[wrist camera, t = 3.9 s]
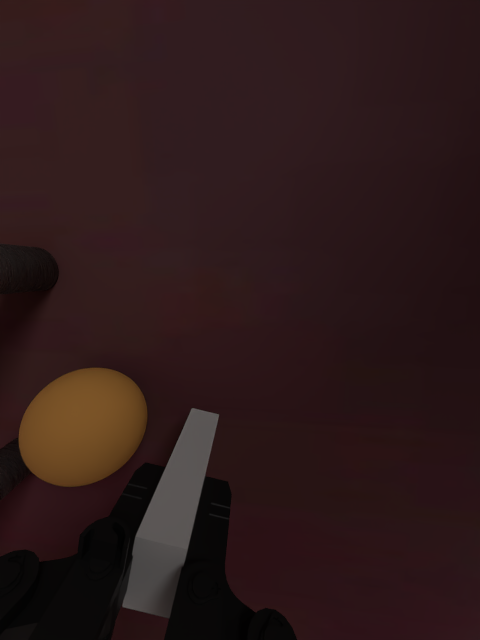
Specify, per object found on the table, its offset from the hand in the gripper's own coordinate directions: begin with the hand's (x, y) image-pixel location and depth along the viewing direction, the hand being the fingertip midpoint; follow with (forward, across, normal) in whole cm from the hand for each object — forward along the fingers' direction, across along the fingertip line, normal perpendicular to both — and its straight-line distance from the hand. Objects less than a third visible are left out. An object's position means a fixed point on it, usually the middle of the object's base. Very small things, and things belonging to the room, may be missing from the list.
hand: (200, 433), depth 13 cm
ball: (-1, -6, 0) cm, 6 cm away
